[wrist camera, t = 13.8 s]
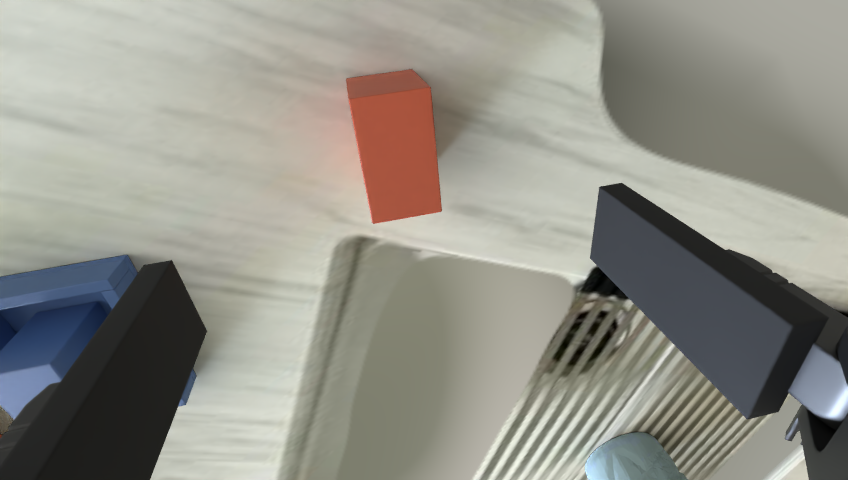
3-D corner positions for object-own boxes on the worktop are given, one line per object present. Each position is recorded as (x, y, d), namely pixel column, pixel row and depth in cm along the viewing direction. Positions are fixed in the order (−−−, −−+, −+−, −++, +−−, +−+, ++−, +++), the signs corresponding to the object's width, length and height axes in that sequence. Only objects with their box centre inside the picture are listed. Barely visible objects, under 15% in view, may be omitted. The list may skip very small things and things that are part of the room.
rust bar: (346, 78, 22) (348, 98, 17) (412, 68, 22) (431, 86, 18) (366, 184, 25) (372, 224, 20) (424, 174, 25) (442, 211, 21)
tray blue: (-31, 281, 23) (-67, 310, 21) (127, 254, 24) (107, 279, 22) (70, 401, 29) (50, 434, 27) (197, 375, 30) (186, 405, 27)
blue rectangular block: (35, 312, 24) (-28, 378, 20) (98, 300, 25) (49, 364, 20) (89, 380, 28) (44, 451, 23) (144, 369, 28) (110, 437, 24)
